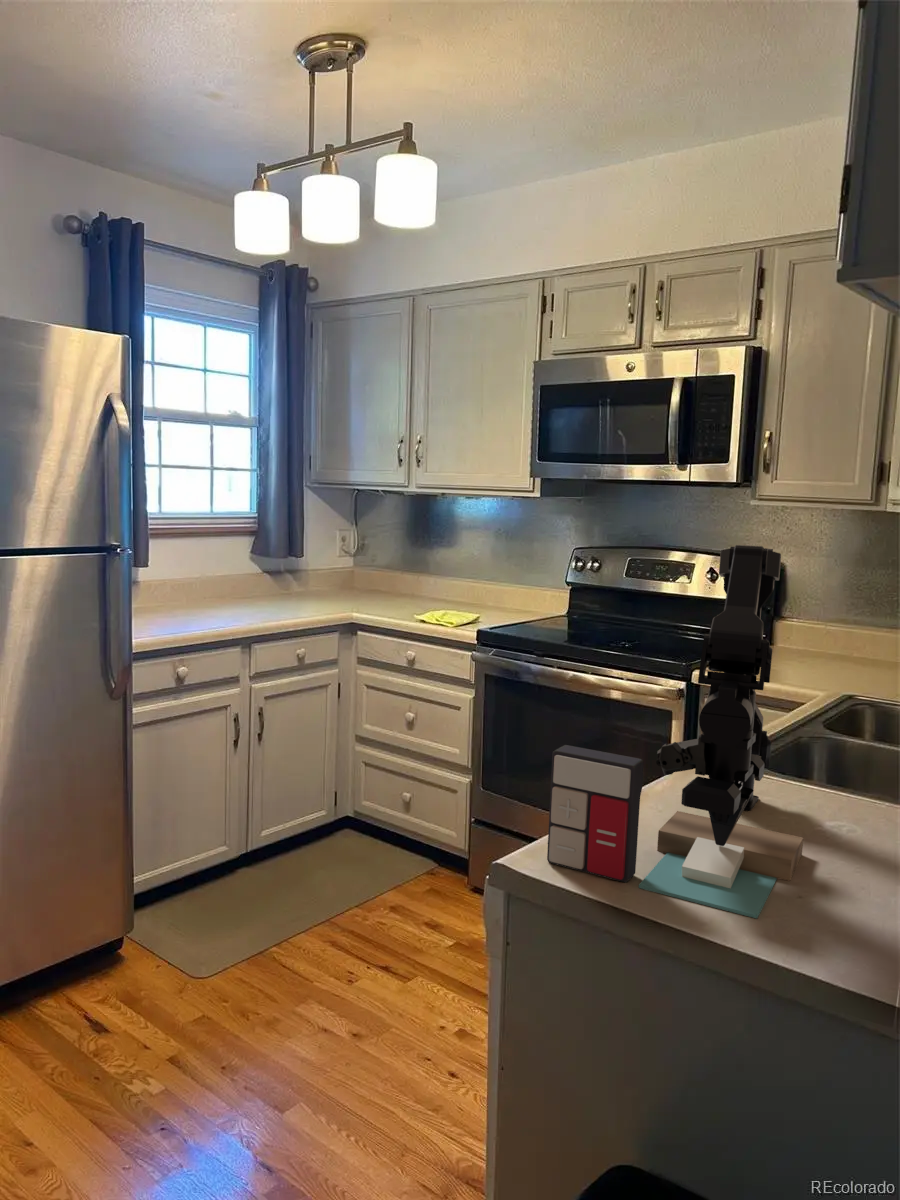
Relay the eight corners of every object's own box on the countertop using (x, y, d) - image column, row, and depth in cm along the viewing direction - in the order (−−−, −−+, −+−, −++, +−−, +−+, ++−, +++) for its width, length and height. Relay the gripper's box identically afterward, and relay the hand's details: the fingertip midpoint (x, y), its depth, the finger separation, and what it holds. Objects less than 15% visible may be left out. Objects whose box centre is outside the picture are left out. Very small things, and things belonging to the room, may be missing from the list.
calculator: (544, 864, 115) (549, 751, 113) (557, 853, 118) (563, 744, 117) (625, 886, 109) (632, 767, 107) (637, 873, 113) (644, 759, 111)
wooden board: (676, 831, 128) (677, 810, 128) (801, 858, 119) (803, 837, 119) (657, 851, 120) (658, 830, 120) (789, 883, 112) (791, 860, 111)
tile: (697, 846, 117) (697, 836, 117) (743, 857, 114) (744, 847, 114) (681, 876, 112) (681, 866, 111) (730, 888, 109) (730, 878, 108)
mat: (667, 855, 119) (667, 852, 119) (776, 881, 112) (776, 878, 112) (638, 887, 109) (638, 884, 109) (757, 918, 102) (757, 915, 102)
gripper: (686, 702, 124) (678, 810, 126) (643, 731, 108) (636, 854, 110) (769, 715, 119) (760, 827, 121) (737, 747, 103) (727, 876, 105)
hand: (720, 844), depth 114 cm, fingers closed
